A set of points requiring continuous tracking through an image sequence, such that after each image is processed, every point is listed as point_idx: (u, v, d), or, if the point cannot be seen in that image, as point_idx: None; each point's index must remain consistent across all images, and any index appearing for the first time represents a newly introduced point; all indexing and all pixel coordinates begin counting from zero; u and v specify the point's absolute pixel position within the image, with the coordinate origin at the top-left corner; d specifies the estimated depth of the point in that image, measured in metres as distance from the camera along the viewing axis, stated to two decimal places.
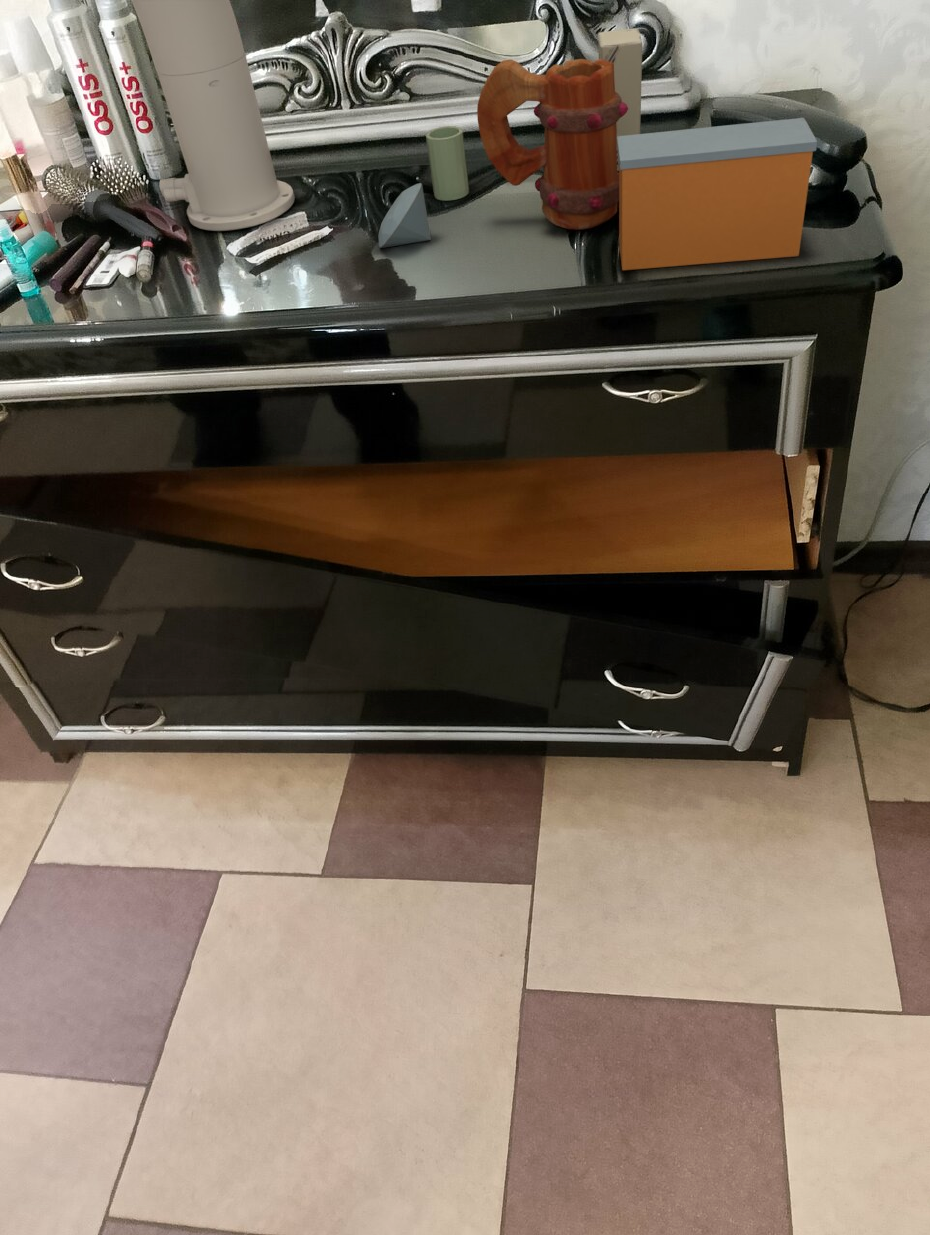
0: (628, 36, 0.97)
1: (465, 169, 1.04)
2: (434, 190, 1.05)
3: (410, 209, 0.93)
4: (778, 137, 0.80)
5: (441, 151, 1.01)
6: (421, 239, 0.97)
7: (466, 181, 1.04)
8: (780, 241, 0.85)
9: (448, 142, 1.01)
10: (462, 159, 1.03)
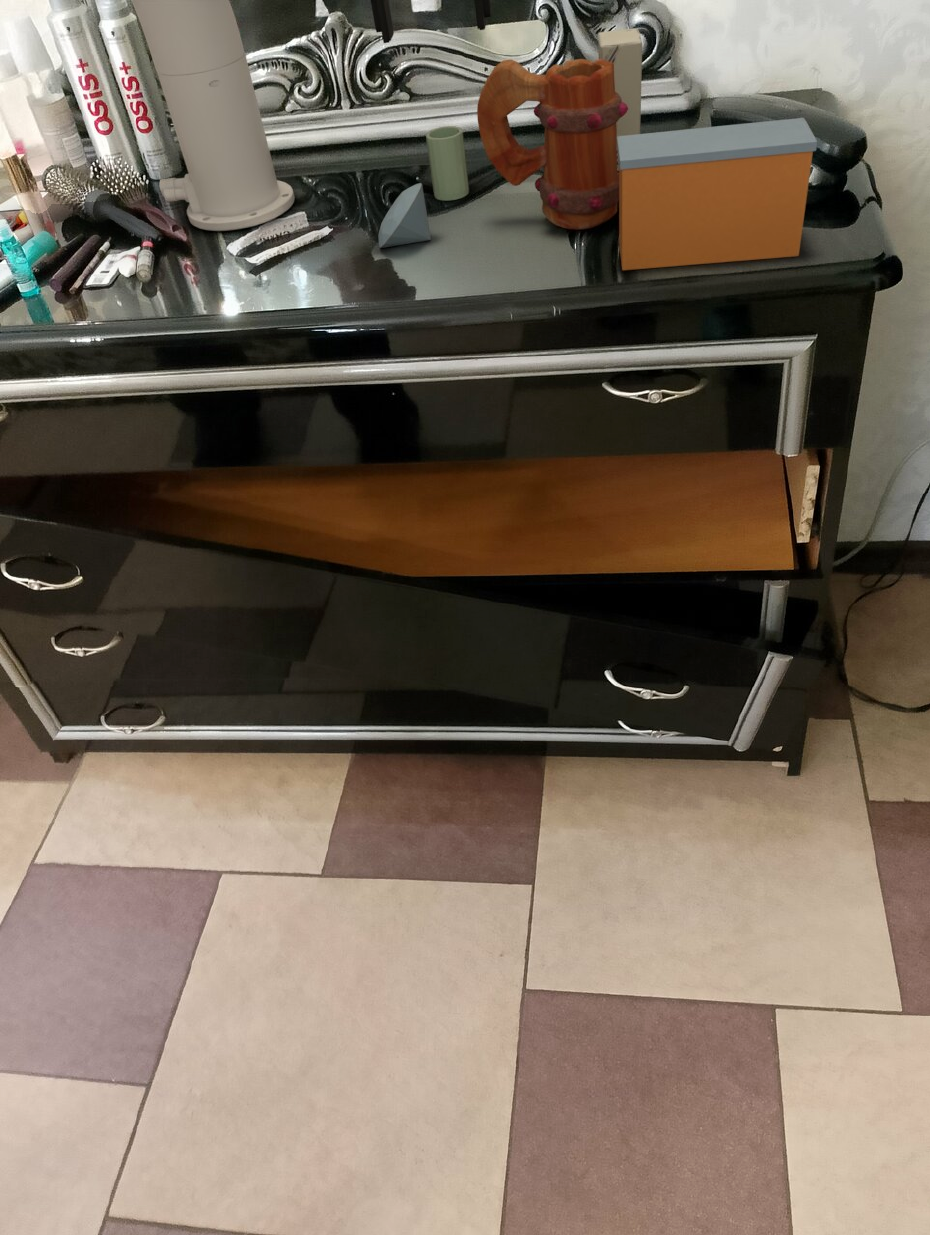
0: (628, 36, 0.97)
1: (465, 169, 1.04)
2: (434, 190, 1.05)
3: (410, 209, 0.93)
4: (778, 137, 0.80)
5: (441, 151, 1.01)
6: (421, 239, 0.97)
7: (466, 181, 1.04)
8: (780, 241, 0.85)
9: (448, 142, 1.01)
10: (462, 159, 1.03)
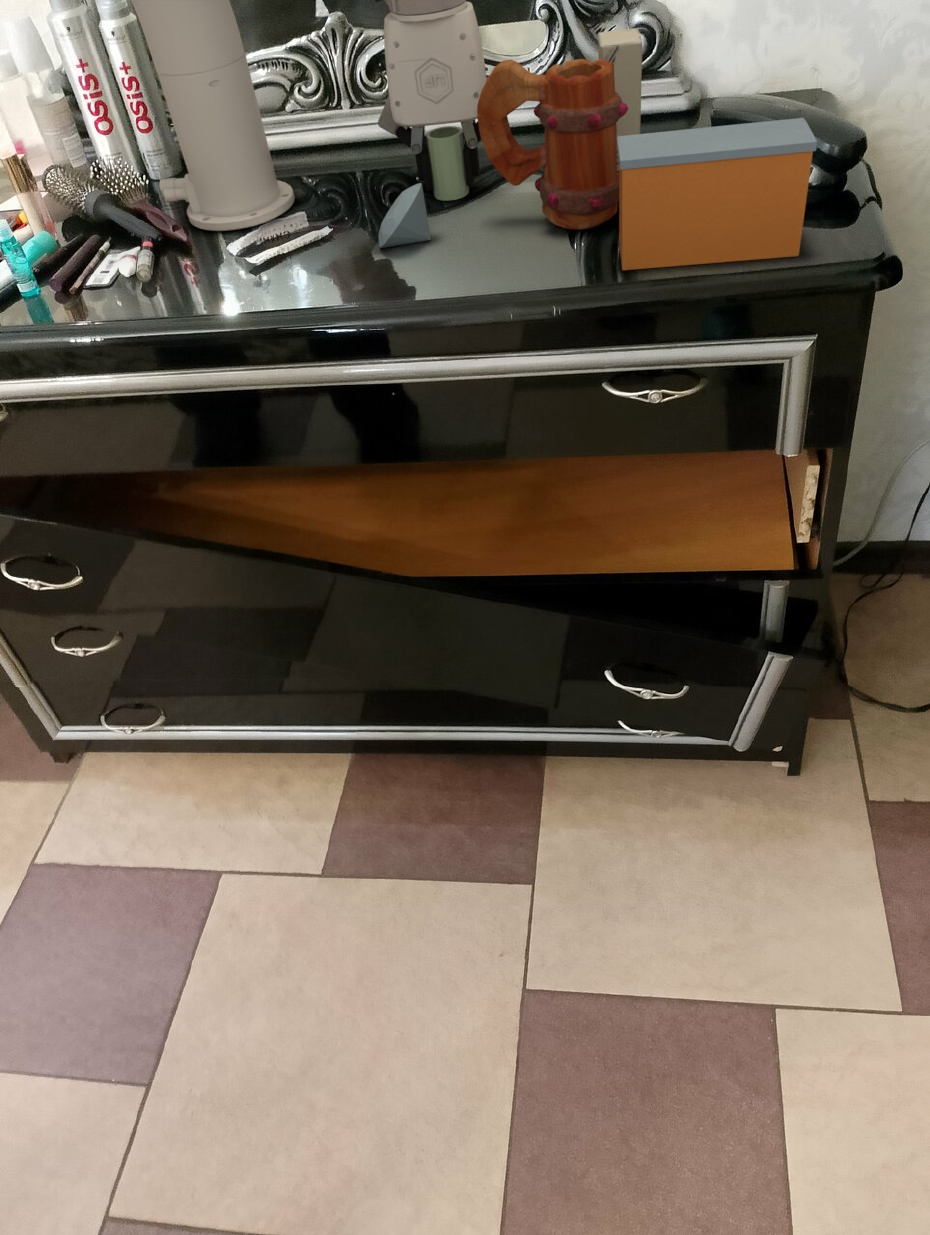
0: (628, 36, 0.97)
1: None
2: (434, 190, 1.05)
3: (410, 209, 0.93)
4: (778, 137, 0.80)
5: (441, 151, 1.01)
6: (421, 239, 0.97)
7: None
8: (780, 241, 0.85)
9: (448, 142, 1.01)
10: (462, 159, 1.03)
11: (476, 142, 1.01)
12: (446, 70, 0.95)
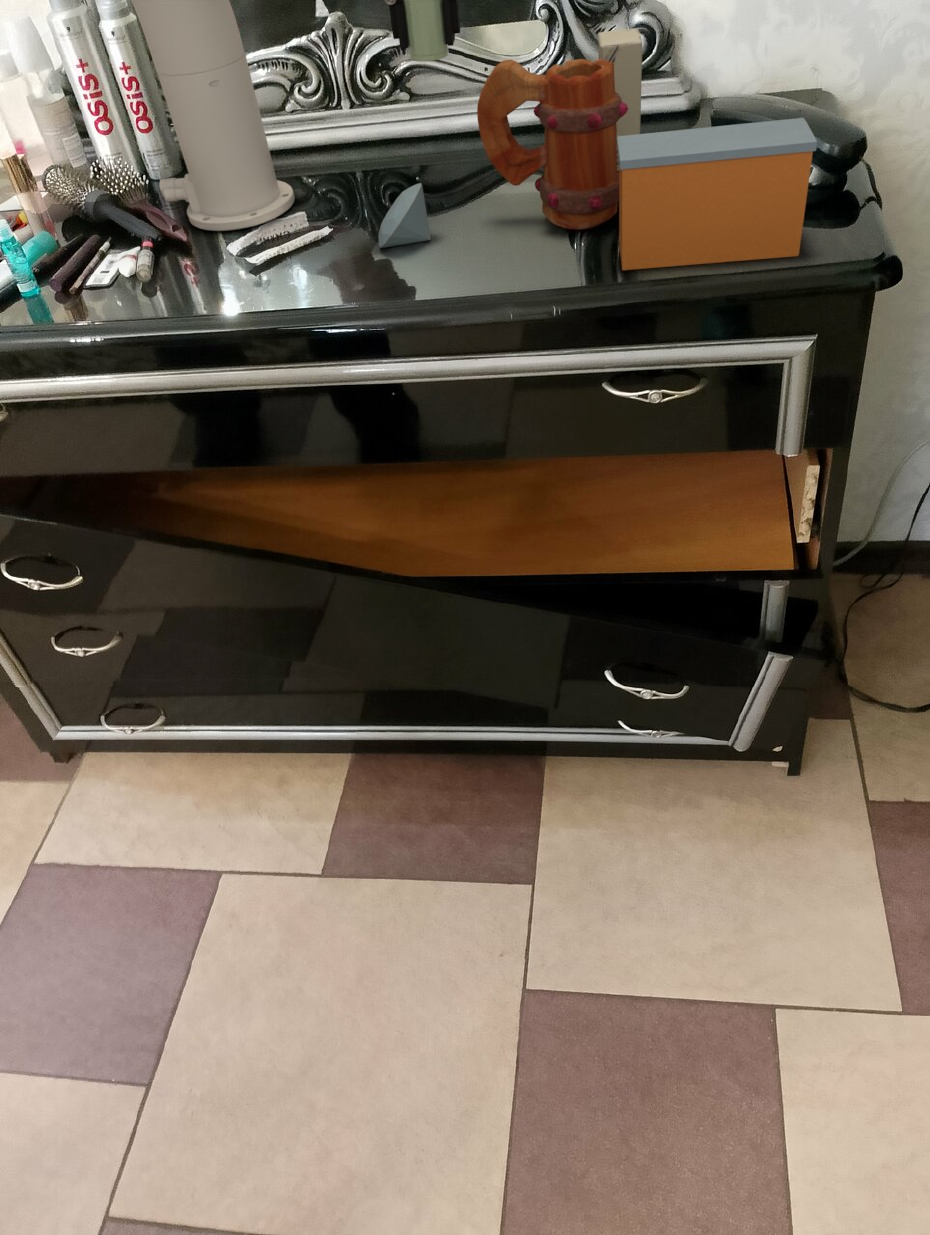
0: (628, 36, 0.97)
1: None
2: (410, 50, 0.95)
3: (410, 209, 0.93)
4: (778, 137, 0.80)
5: (417, 1, 0.91)
6: (421, 239, 0.97)
7: None
8: (780, 241, 0.85)
9: None
10: (441, 13, 0.93)
11: None
12: None
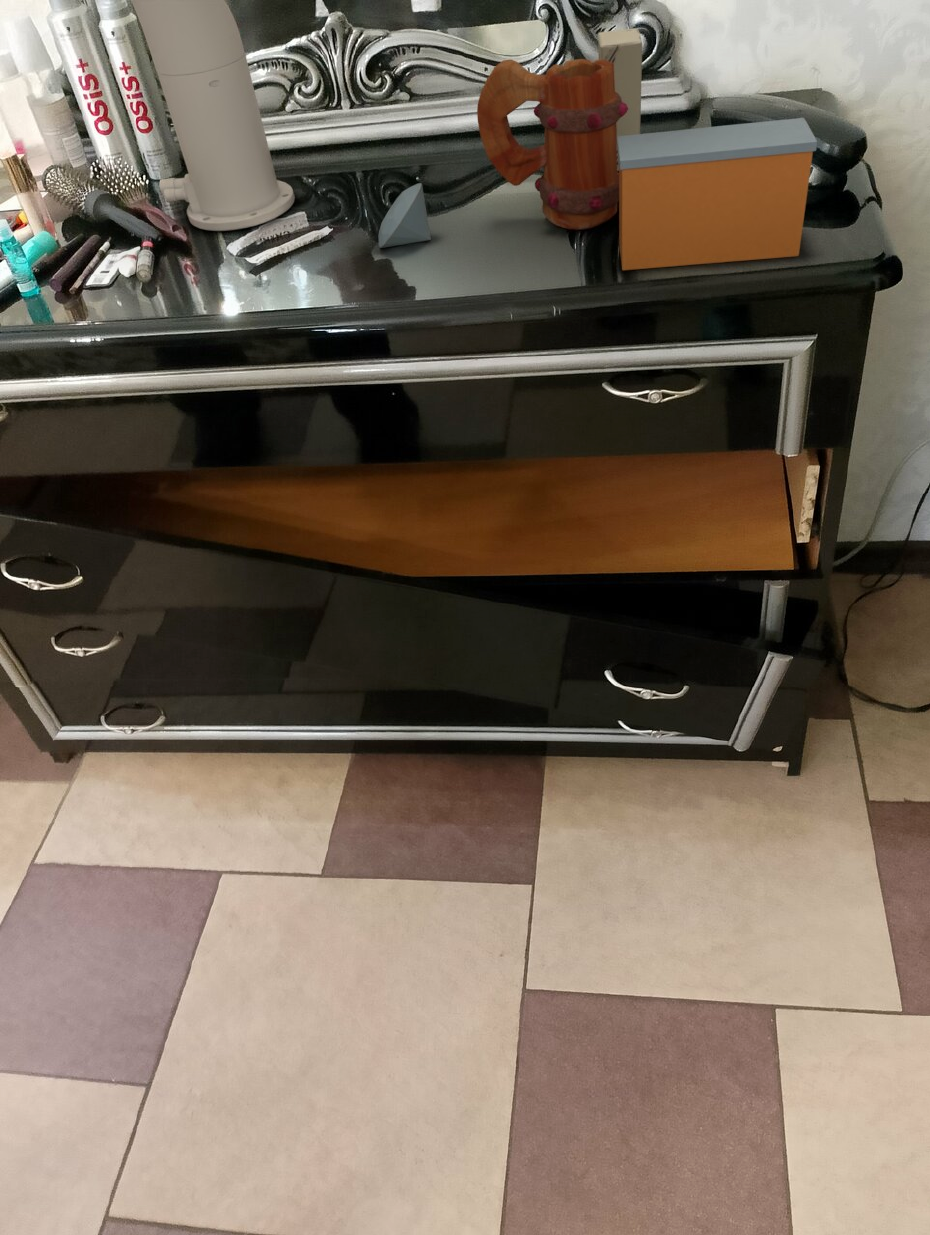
0: (628, 36, 0.97)
1: None
2: None
3: (410, 209, 0.93)
4: (778, 137, 0.80)
5: None
6: (421, 239, 0.97)
7: None
8: (780, 241, 0.85)
9: None
10: None
11: None
12: None
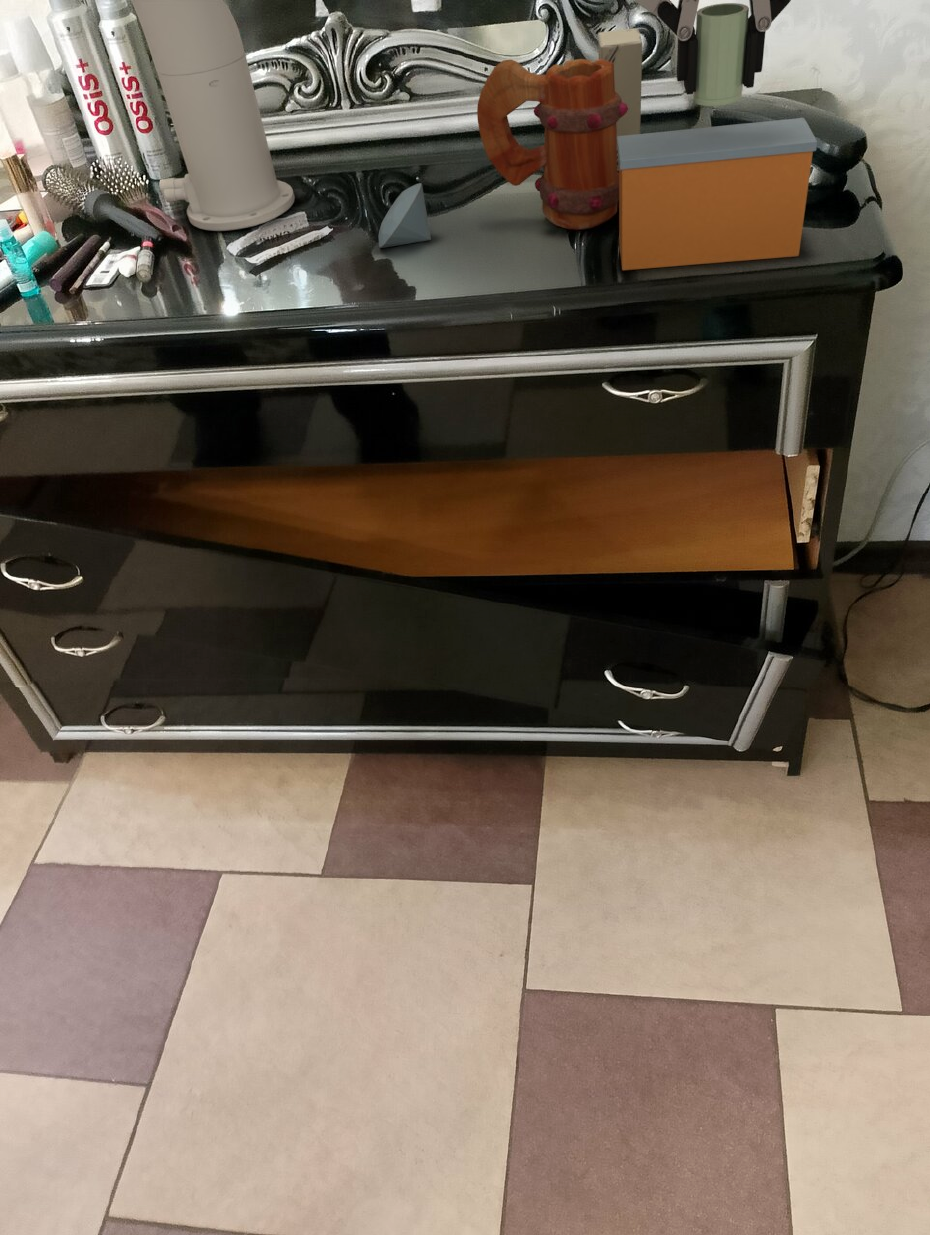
0: (628, 36, 0.97)
1: (743, 62, 0.77)
2: (697, 93, 0.79)
3: (410, 209, 0.93)
4: (778, 137, 0.80)
5: (720, 34, 0.74)
6: (421, 239, 0.97)
7: (742, 80, 0.78)
8: (780, 241, 0.85)
9: (732, 21, 0.74)
10: (743, 47, 0.76)
11: (768, 23, 0.74)
12: None
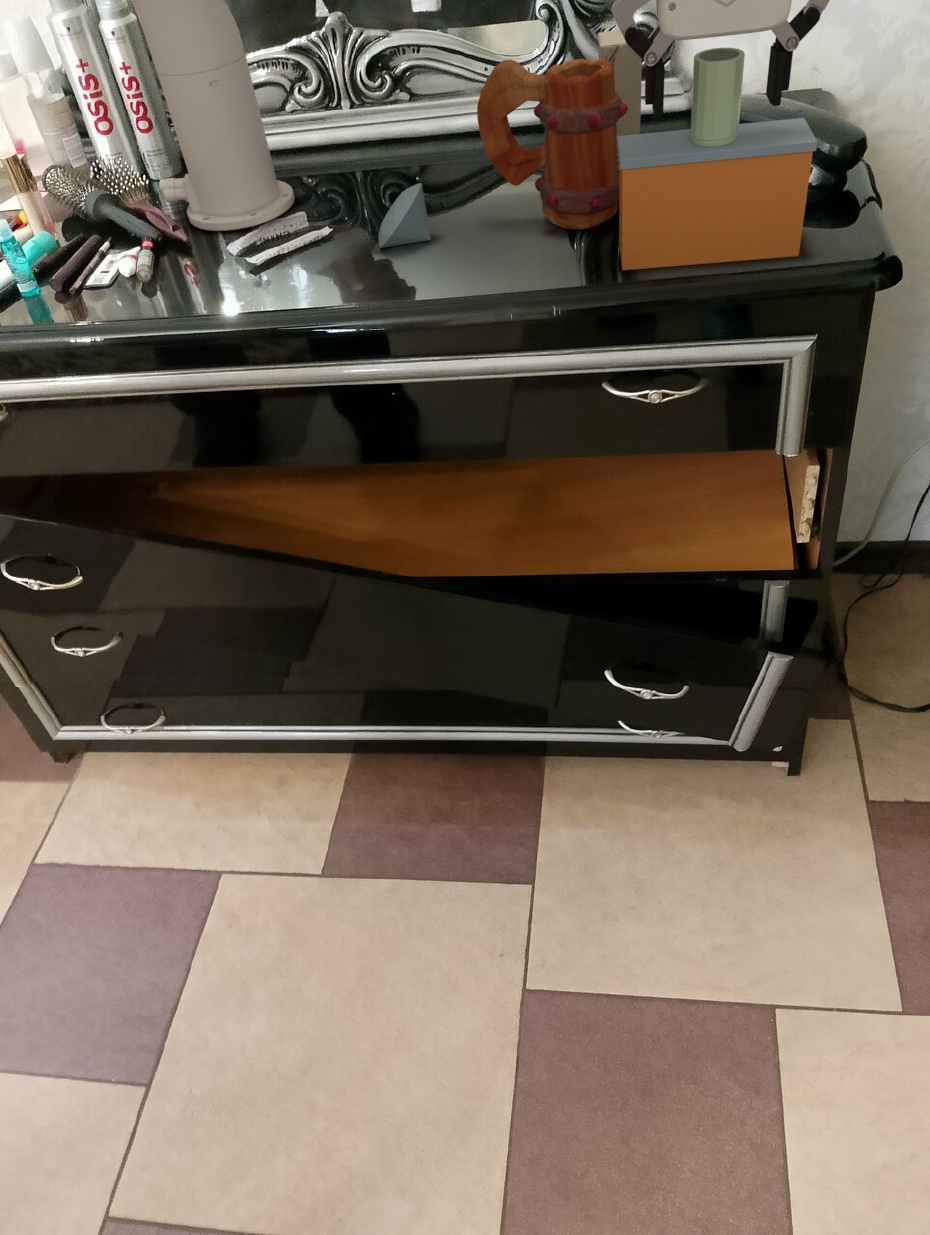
0: None
1: (739, 105, 0.79)
2: (694, 133, 0.81)
3: (410, 209, 0.93)
4: (778, 137, 0.80)
5: (717, 79, 0.77)
6: (421, 239, 0.97)
7: (738, 121, 0.80)
8: (780, 241, 0.85)
9: (728, 66, 0.76)
10: (739, 91, 0.78)
11: (796, 42, 0.75)
12: None
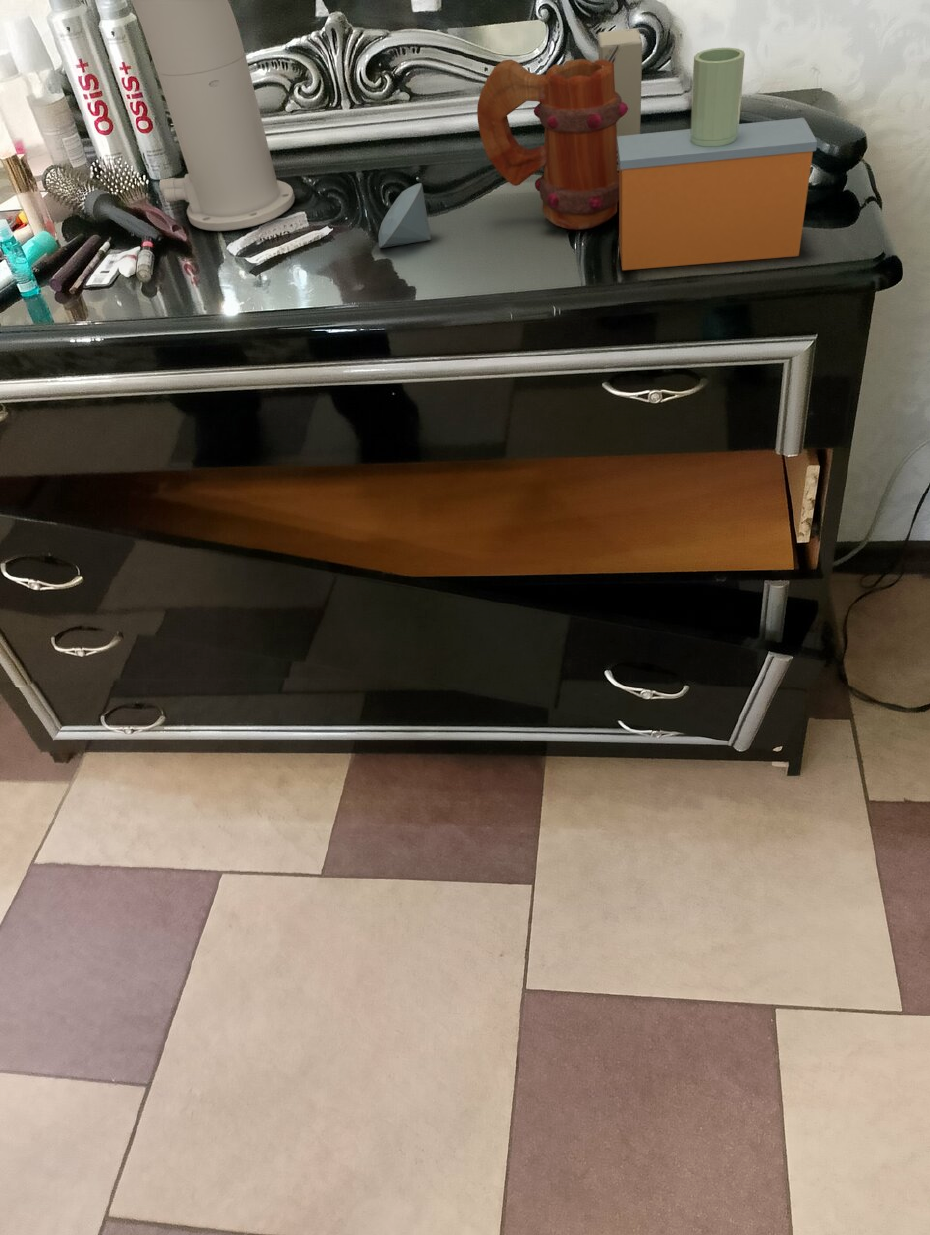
0: (628, 36, 0.97)
1: (739, 105, 0.79)
2: (694, 133, 0.81)
3: (410, 209, 0.93)
4: (778, 137, 0.80)
5: (717, 79, 0.77)
6: (421, 239, 0.97)
7: (738, 121, 0.80)
8: (780, 241, 0.85)
9: (728, 66, 0.76)
10: (739, 91, 0.78)
11: None
12: None
